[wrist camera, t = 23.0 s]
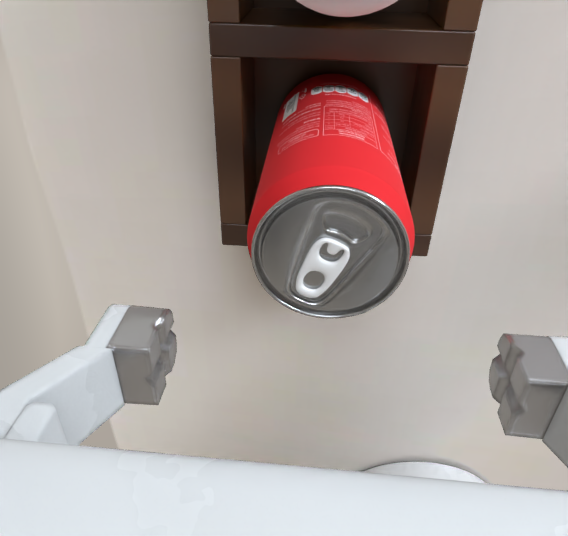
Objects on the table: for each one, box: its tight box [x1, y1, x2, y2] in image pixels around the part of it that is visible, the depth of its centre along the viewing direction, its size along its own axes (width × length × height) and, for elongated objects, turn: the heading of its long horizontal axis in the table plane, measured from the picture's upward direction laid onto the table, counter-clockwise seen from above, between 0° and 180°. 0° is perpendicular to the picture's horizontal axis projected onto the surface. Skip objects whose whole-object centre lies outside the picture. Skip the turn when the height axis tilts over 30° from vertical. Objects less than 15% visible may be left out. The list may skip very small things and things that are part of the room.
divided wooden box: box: [207, 0, 483, 256], centre depth 21 cm, size 19×10×6 cm, turn 179°
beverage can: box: [247, 74, 415, 318], centre depth 20 cm, size 5×5×12 cm
